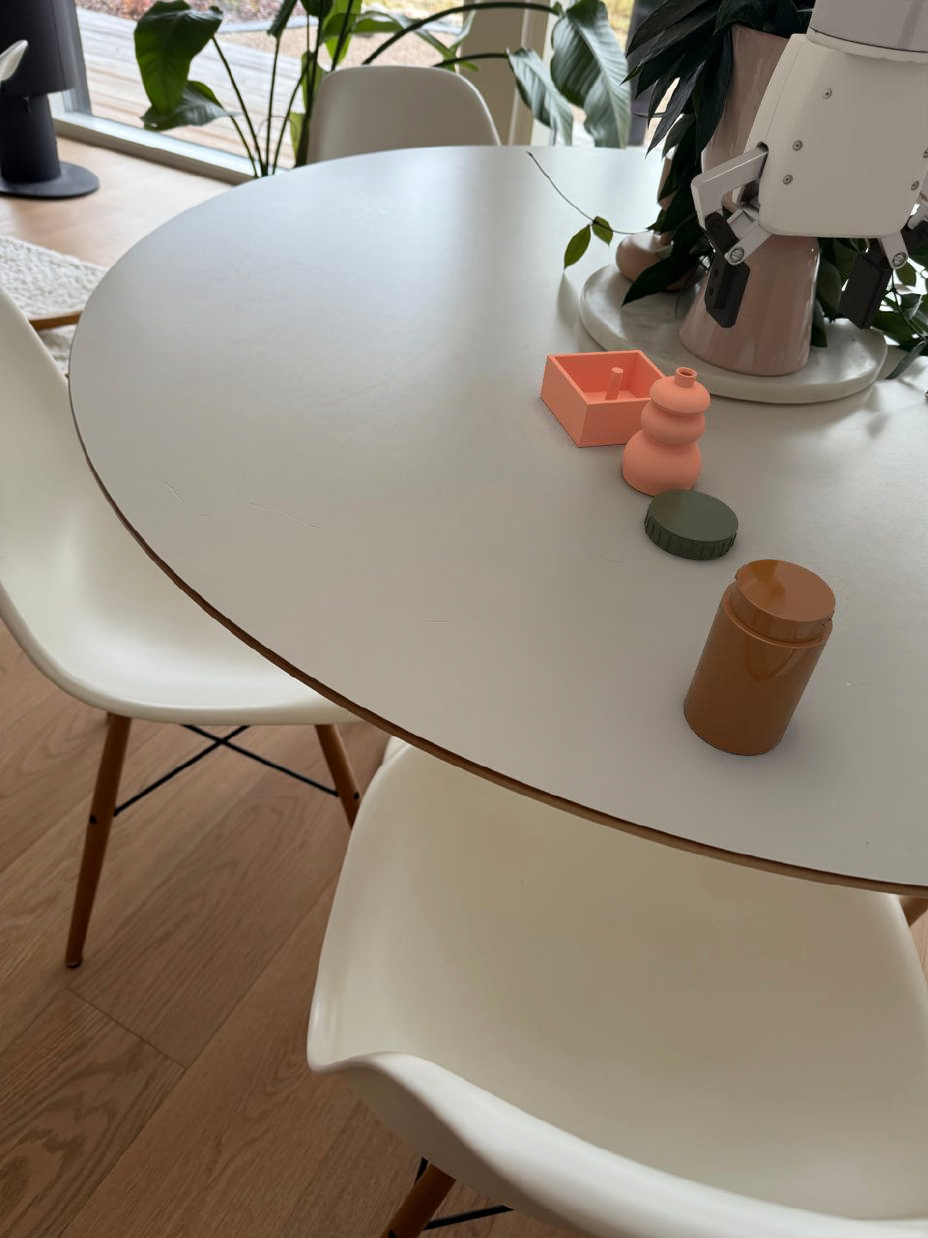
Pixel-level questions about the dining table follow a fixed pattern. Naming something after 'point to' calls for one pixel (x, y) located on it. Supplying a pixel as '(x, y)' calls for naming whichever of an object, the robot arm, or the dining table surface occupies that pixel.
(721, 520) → the lid
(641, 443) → the pottery
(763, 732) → the jar
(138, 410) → the dining table surface
